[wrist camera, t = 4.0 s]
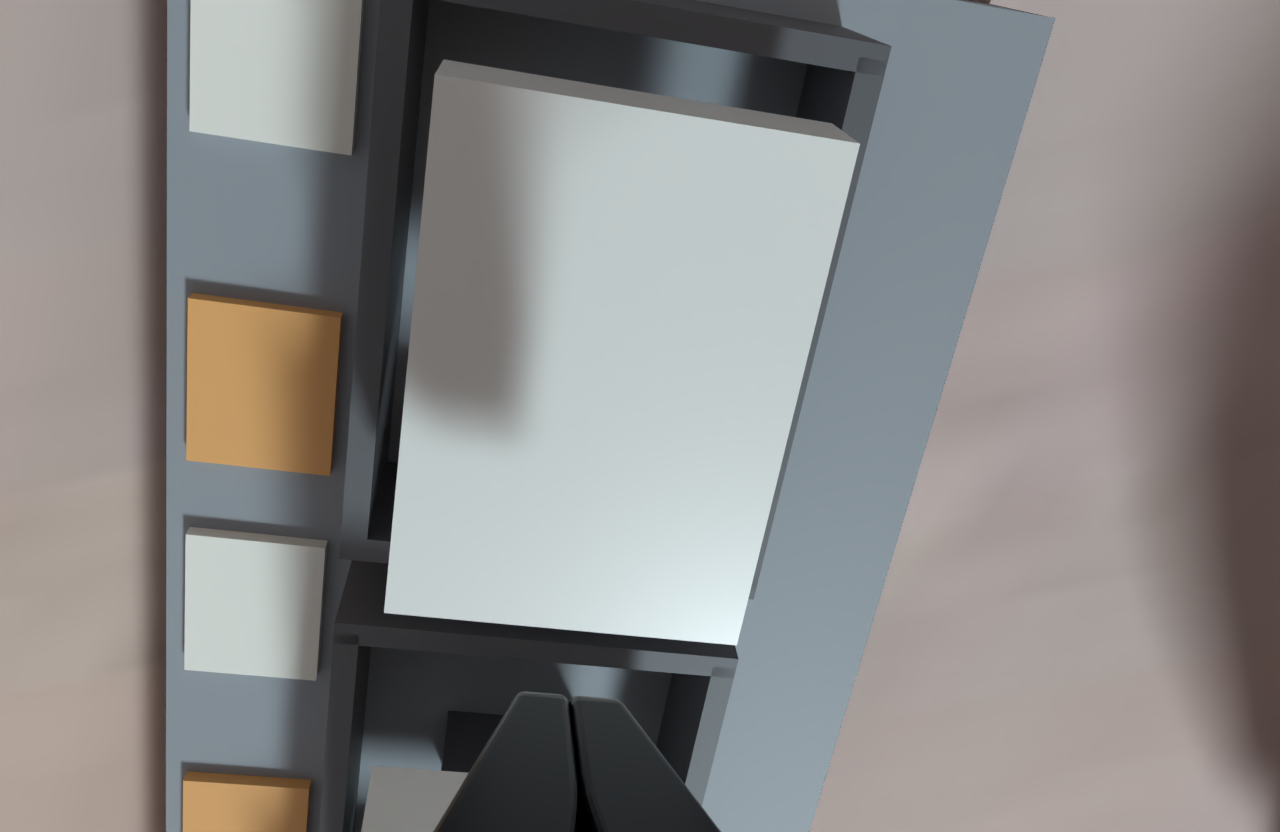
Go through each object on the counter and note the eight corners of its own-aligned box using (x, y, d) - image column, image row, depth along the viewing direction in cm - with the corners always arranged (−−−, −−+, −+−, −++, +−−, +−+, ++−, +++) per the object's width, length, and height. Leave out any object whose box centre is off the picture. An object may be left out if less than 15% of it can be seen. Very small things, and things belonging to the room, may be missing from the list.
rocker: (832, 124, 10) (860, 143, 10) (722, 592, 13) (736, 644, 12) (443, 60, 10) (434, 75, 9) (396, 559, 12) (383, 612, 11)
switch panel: (992, 4, 15) (1163, 43, 11) (681, 1112, 24) (712, 1361, 20) (217, -140, 14) (79, -158, 9) (194, 1098, 22) (119, 1363, 18)
